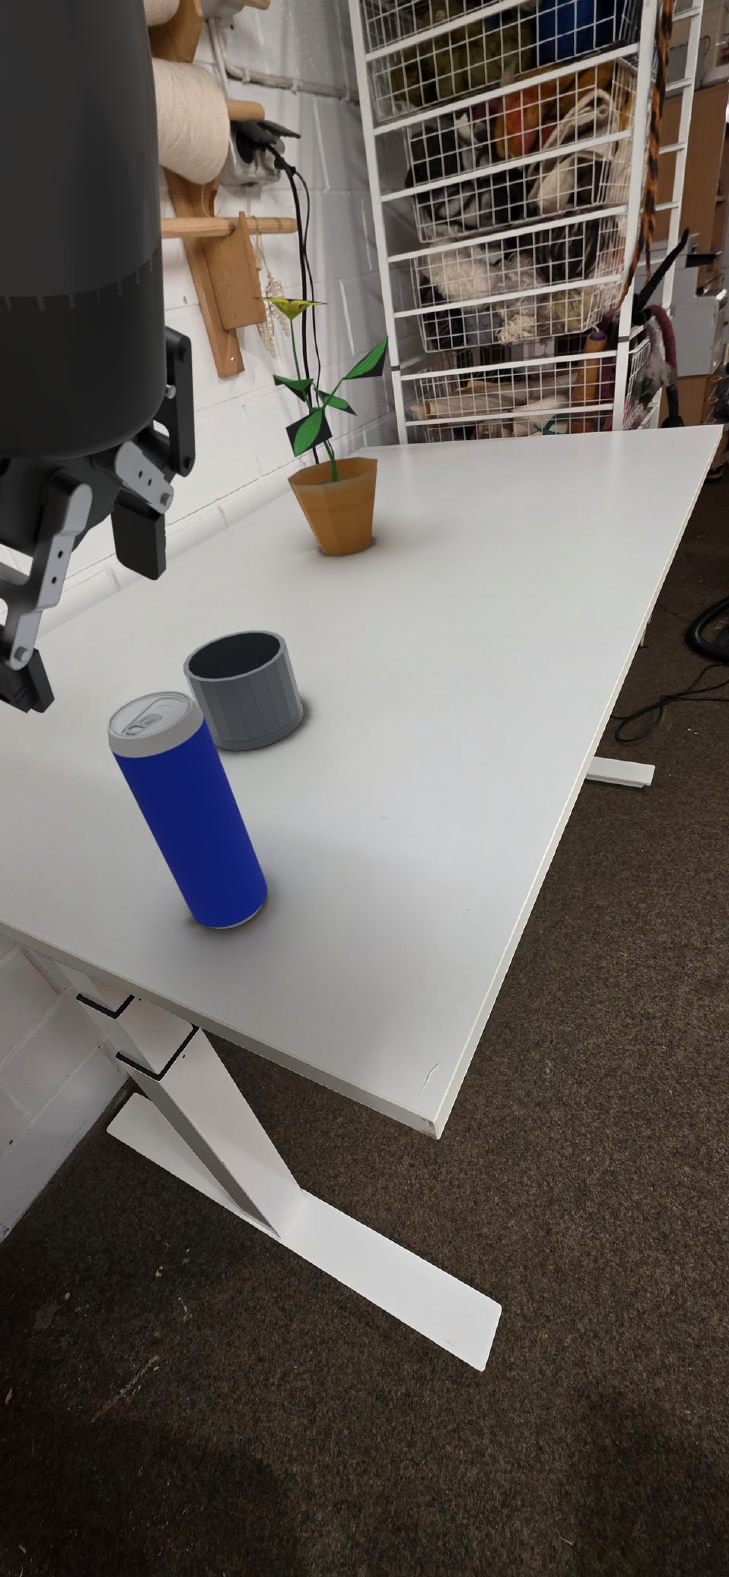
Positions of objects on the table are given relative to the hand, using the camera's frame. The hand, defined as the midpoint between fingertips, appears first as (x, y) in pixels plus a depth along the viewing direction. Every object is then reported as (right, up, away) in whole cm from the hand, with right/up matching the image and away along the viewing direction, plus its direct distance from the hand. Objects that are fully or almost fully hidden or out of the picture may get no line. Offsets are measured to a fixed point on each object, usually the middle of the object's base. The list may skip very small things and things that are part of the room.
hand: (88, 629), depth 30 cm
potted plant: (+10, +28, +66) cm, 72 cm away
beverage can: (+3, -15, +15) cm, 21 cm away
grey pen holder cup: (+2, -1, +32) cm, 33 cm away
